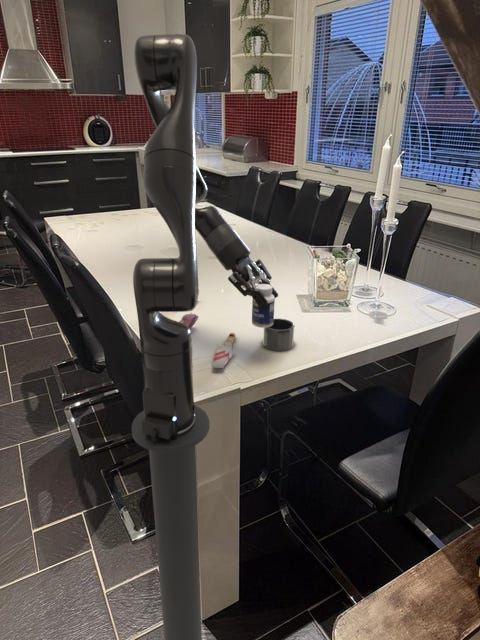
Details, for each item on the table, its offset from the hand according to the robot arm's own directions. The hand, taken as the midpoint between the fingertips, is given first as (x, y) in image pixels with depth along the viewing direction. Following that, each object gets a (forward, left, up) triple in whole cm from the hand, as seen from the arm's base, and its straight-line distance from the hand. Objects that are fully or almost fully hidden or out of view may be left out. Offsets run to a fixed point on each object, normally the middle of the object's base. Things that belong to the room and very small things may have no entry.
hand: (270, 301), depth 112 cm
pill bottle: (0, +2, -6) cm, 7 cm away
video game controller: (+7, +27, -16) cm, 32 cm away
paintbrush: (-1, +11, -16) cm, 20 cm away
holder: (+9, 0, -16) cm, 18 cm away
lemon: (+30, +35, -16) cm, 49 cm away
